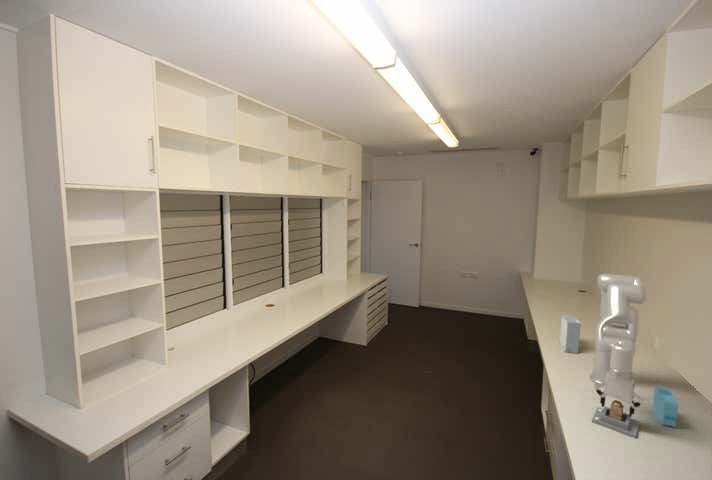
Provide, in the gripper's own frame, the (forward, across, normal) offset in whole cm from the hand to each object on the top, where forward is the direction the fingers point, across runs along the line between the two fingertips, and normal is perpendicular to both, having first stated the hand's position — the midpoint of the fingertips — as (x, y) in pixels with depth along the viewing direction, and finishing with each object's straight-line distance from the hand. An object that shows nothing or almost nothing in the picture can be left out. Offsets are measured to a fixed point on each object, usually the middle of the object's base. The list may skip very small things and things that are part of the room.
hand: (616, 410), depth 150 cm
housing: (+6, 0, 0) cm, 6 cm away
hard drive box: (+6, +34, -73) cm, 81 cm away
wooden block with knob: (+5, 0, 0) cm, 5 cm away
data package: (+6, -15, -18) cm, 24 cm away
